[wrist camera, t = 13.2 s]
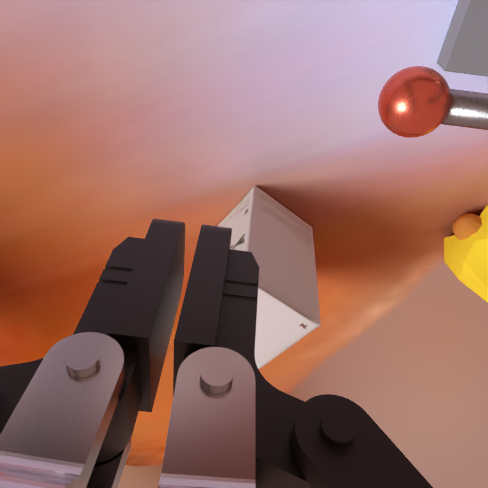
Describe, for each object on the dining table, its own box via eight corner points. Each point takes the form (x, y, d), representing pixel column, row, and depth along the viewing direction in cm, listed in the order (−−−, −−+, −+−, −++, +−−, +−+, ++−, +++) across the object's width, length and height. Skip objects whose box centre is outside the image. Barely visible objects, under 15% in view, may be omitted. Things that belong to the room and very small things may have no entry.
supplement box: (254, 182, 41) (246, 276, 31) (314, 227, 43) (324, 327, 33) (206, 232, 44) (184, 330, 34) (264, 271, 47) (259, 373, 37)
